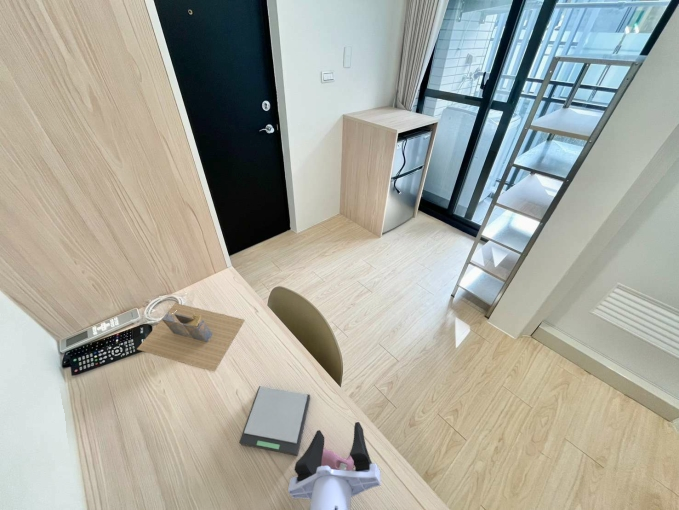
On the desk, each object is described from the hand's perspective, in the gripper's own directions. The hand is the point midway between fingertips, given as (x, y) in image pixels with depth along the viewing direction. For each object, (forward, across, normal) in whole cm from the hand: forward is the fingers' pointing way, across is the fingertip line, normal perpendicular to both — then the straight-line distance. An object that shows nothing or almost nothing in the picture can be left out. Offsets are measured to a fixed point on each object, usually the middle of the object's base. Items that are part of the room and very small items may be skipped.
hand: (339, 430), depth 49 cm
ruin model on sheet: (+27, +44, -16) cm, 54 cm away
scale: (+10, +19, +4) cm, 22 cm away
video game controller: (+5, +8, +13) cm, 16 cm away
